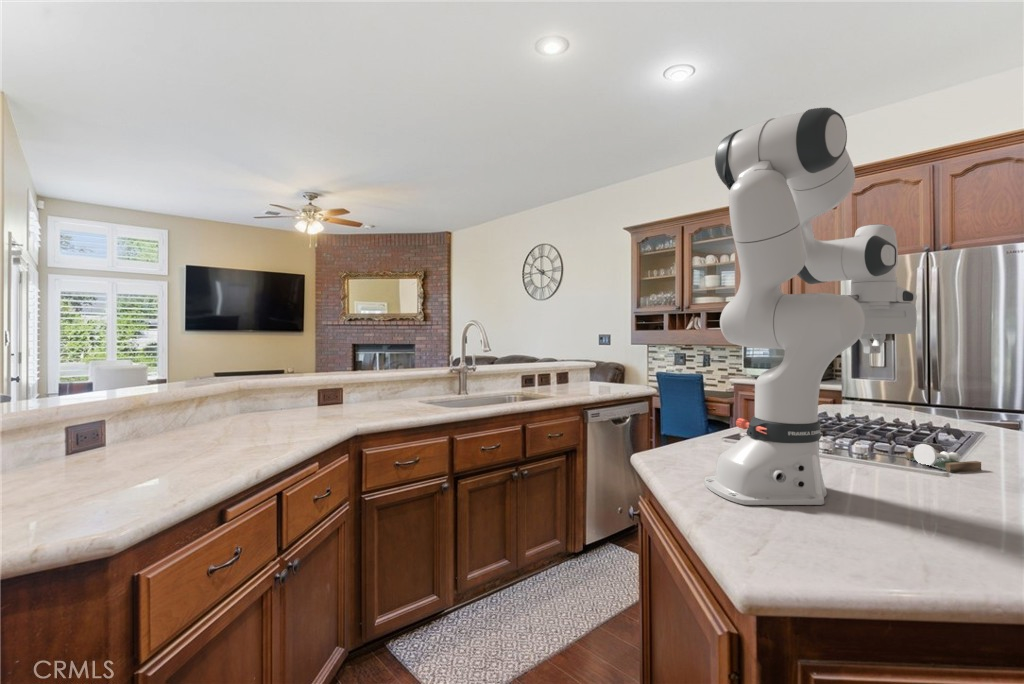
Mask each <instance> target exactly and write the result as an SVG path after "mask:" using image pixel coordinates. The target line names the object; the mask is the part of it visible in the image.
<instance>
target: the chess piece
mask: <svg viewBox="0 0 1024 684" xmlns="http://www.w3.org/2000/svg"><path fill="white" fill-rule="evenodd" d="M935 450H936V449H935V448H934V447H933V446H931V445H929V444H926V443H920V444H918V445H916V446H915V447H914V449H913V452H914V458H915V460H916V461H917V462H918V463H917V464H919V463H921V464H926V465H929V466H928V467H930V465H933V464H935V462H936V461H937V459H939V458H941V459H942V460H943V461H947V460H951V461H959V462H961V459H962V458H963V457H962V456H961V455H960V454H959V453H958V452H955V451H953V452H952V451H951V452H947V451H940V452H939V453H936V451H935Z"/></svg>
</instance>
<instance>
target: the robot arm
mask: <svg viewBox="0 0 1024 684" xmlns="http://www.w3.org/2000/svg"><path fill="white" fill-rule="evenodd" d="M847 138H848V130H847V125H846V122H845V119H844V117H843V116H842V114H840V112H838V111H836V110H835V109H833V108H832V107H816V108H815V107H814V108H809V109H807V110H805V111H803V112H797V113H791V114H788V115H784V116H780V117H776V118H775V117H773V118H769V119H767V120H766V119H765V120H762V121H759V122H758V123H756V124H753V125H751V126H750V125H749V126H748V127H746V128H744V129H738V130H736V131H733V132H732V133H730V134H728V135H726V136H725V137H724V138H723V139H721V141H720V142H719V145H718V147H717V149H716V152H715V156H714V166H715V171H716V173H717V176H718V178H719V179H720V181H721V182H722V183H723V184H724V185H725V186H726V188H727V189H728V191H729V193H728V208H729V209H728V210H729V220H730V227H731V233H732V237H733V242H734V245H735V250H736V254H737V259H738V264H739V271H740V280H739V281H740V282H739V286H738V290H737V292H736V294H735V295H734V296H733V298H732V299H731V300H730V301H728V303H727V304H726V305H725V306H724V308H723V309H722V311H721V314H720V318H719V327H720V330H721V334H722V335H723V337H724V339H725V340H726V341H727V342H728V343H729V344H732V345H737V346H740V347H744V348H749V349H759V350H760V349H764V350H765V349H766V350H784V356H783V359H782V361H781V363H780V364H779V365H777V366H774V367H771V368H768V369H767V370H765V371H763V372H762V373H761V374H759V376H758V377H757V379H756V380H755V383H754V414H753V416H752V417H751V420H750V421H749V420H748V419H745V418H741V417H739V418H737V420H736V421H735V426H736V428H739V429H742V430H746V432H745V433H746V434H745V435H744V436H743V437H742V438H741V439H739V440H738V441H736V442H735V443H734V444H733V445H731V446H730V447H729V448H728V449H726V450H725V451H723V452H722V453H720V455H719V457H718V459H717V462H716V469H715V474H714V475H708V476H705V477H704V480H703V484H704V486H705V487H706V488H707V489H708V490H710V491H711V492H712V493H714V494H716V495H718V496H720V497H721V498H724V499H726V500H729V501H730V502H733V503H737V504H740V505H745V506H762V505H763V506H769V505H770V506H772V505H773V506H783V505H784V506H785V505H787V506H792V505H793V506H796V505H797V506H799V505H800V506H801V505H802V506H803V505H805V506H811V505H812V506H814V505H815V506H819V505H820V506H821V505H824V504H825V497H826V496H827V495H828V492H827V489H826V486H825V482H824V479H823V474H822V466H821V460H820V452H819V450H820V449H819V442H820V440H821V421H820V420H819V419H818V418H819V398H820V397H819V396H820V388H821V382H822V379H823V376H824V374H825V372H826V370H827V369H828V367H829V366H830V364H831V363H832V361H834V360H835V359H836V358H837V356H839V355H840V354H842V352H844V351H846V350H847V349H849V348H850V347H853V345H854V344H855V343H857V342H858V340H859V341H860V343H861V345H862V346H863V354H868V355H869V354H881V348H882V347H881V346H883V344H884V342H885V340H886V338H887V337H886V335H912V334H914V332H915V331H916V330H917V324H918V323H917V322H918V320H917V316H918V315H917V314H918V313H917V307H916V305H915V304H914V303H915V302H916V301H917V298H918V295H917V293H915V292H913V291H910V290H907V289H906V288H903V287H901V286H898V278H897V275H896V269H897V266H898V261H899V253H898V252H899V249H898V248H899V247H898V240H897V234H896V230H895V228H894V227H893V226H891V225H888V224H885V223H884V224H883V223H874V224H873V223H872V224H866V225H861V226H860V227H858V228H857V229H856V230H855V233H854V236H853V237H845V238H838V239H831V240H830V239H829V240H820V239H817V238H815V234H814V229H813V225H812V220H814V219H815V218H817V217H819V216H821V215H823V214H826V213H828V212H830V211H832V210H833V209H835V208H836V207H837V206H839V205H840V204H841V203H843V202H844V201H845V199H846V198H847V197H848V196H849V194H850V193H851V191H852V190H853V187H854V185H855V183H856V174H855V173H856V171H855V168H854V165H853V162H852V159H851V157H850V155H849V153H848V150H847V148H846V146H847V143H848V142H847V140H848V139H847ZM796 276H797V277H799V279H801V281H804V282H805V283H807V284H809V285H814V284H824V283H828V282H839V281H840V282H842V281H850V294H849V295H846V294H836V293H828V292H814V293H812V292H811V293H791V294H790V293H789V294H787V293H784V292H783V291H782V288H781V287H782V286H781V285H783V284H784V283H786V282H788V281H790V280H791V279H794V278H795V277H796ZM871 339H873V342H871Z"/></svg>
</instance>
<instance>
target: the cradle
mask: <svg viewBox="0 0 1024 684" xmlns="http://www.w3.org/2000/svg"><path fill="white" fill-rule="evenodd" d="M935 451H936V453H940V451H939V450H937V449H935ZM906 457H907V458H910V459H913V460H915V458H914V451H906V456H905V458H906ZM933 465H934V466H938V467H941V468H943V469H946V470H947V471H948V472H947V471H946V472H947V473H960V472H961V473H963V472H978V471H982V461H978V460H971V461H957V460H956V461H951V460H947V461H941V462H940V461H939V462H937V461H936V462H935V464H933Z"/></svg>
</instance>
